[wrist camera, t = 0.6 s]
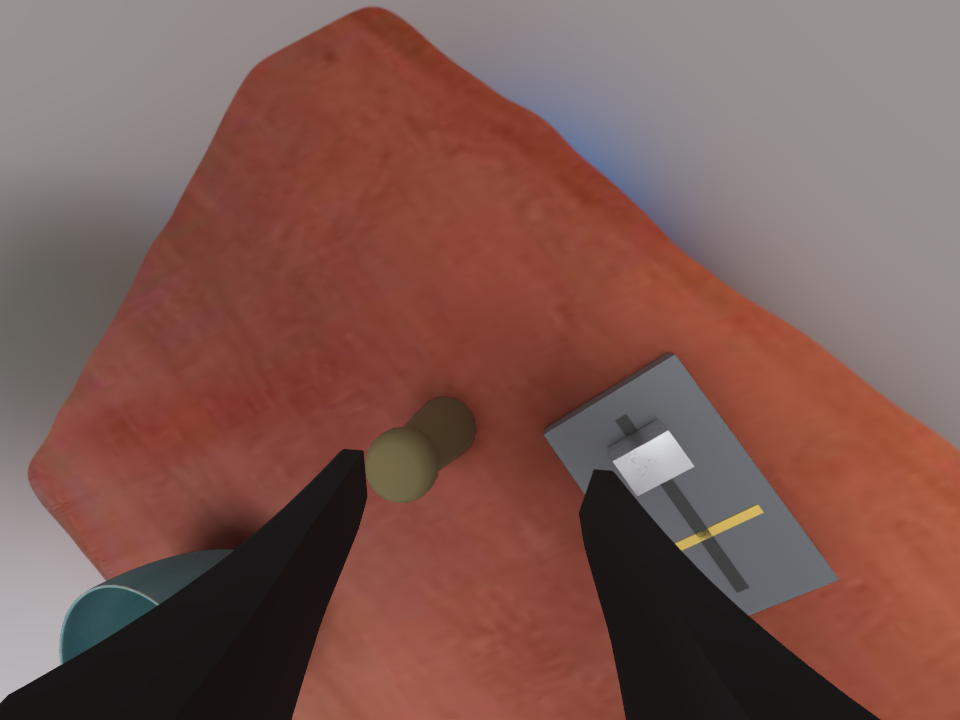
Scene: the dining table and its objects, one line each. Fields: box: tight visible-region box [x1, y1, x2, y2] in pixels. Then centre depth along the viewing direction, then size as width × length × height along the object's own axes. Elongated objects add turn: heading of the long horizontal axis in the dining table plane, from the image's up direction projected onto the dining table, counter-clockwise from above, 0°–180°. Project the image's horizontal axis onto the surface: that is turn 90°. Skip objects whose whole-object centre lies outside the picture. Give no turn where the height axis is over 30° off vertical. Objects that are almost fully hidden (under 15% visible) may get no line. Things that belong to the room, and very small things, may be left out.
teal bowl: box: [59, 549, 234, 665], centre depth 35 cm, size 18×18×12 cm
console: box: [544, 353, 839, 616], centre depth 29 cm, size 20×12×2 cm, turn 36°
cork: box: [365, 397, 476, 503], centre depth 29 cm, size 6×6×11 cm
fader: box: [608, 419, 695, 496], centre depth 26 cm, size 3×4×3 cm
